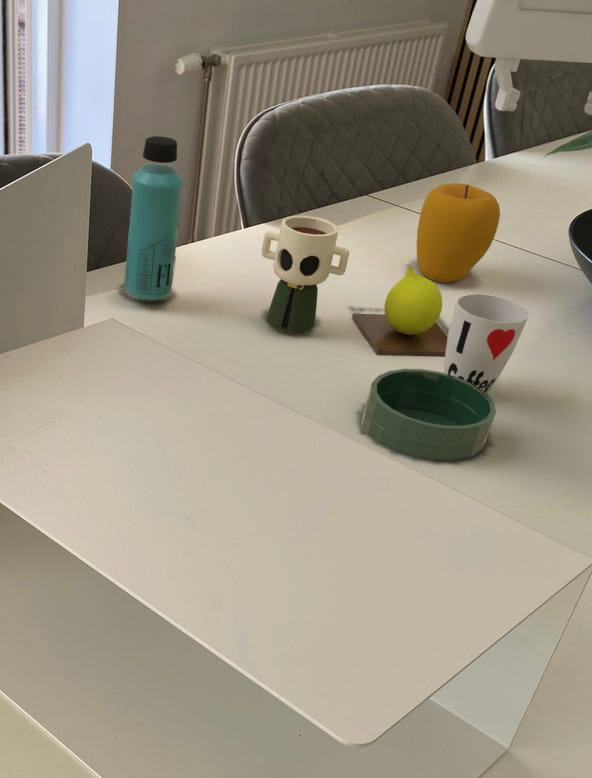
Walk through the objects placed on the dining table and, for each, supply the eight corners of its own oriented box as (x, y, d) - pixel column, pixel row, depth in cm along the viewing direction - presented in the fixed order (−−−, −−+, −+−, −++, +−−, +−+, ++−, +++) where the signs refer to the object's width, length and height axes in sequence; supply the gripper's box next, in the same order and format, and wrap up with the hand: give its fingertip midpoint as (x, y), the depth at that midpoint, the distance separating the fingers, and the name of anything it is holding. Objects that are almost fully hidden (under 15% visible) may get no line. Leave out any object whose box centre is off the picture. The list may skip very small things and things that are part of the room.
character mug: (241, 326, 128) (258, 223, 120) (258, 307, 133) (276, 207, 125) (322, 347, 125) (346, 243, 117) (336, 327, 130) (360, 226, 122)
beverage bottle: (154, 315, 129) (172, 150, 116) (112, 301, 131) (124, 138, 118) (179, 300, 133) (199, 139, 120) (138, 287, 136) (152, 127, 122)
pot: (454, 409, 116) (468, 369, 112) (499, 470, 106) (516, 429, 102) (346, 408, 114) (356, 367, 111) (381, 469, 104) (394, 427, 101)
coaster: (429, 319, 135) (430, 315, 134) (459, 356, 127) (460, 352, 126) (351, 317, 133) (352, 313, 133) (376, 354, 125) (377, 350, 125)
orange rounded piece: (494, 286, 146) (525, 195, 137) (437, 295, 142) (465, 201, 133) (445, 259, 153) (471, 170, 144) (389, 266, 149) (413, 175, 140)
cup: (427, 393, 118) (452, 312, 111) (436, 366, 124) (460, 288, 117) (496, 410, 116) (526, 328, 110) (502, 382, 122) (531, 303, 115)
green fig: (367, 324, 130) (386, 248, 124) (408, 317, 133) (429, 242, 127) (402, 347, 126) (424, 269, 119) (444, 339, 129) (468, 262, 122)
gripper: (509, -61, 85) (461, 115, 95) (727, -45, 88) (659, 125, 97) (481, -71, 90) (438, 98, 99) (688, -56, 93) (628, 108, 102)
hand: (549, 112), depth 98 cm, fingers open, 8 cm apart
